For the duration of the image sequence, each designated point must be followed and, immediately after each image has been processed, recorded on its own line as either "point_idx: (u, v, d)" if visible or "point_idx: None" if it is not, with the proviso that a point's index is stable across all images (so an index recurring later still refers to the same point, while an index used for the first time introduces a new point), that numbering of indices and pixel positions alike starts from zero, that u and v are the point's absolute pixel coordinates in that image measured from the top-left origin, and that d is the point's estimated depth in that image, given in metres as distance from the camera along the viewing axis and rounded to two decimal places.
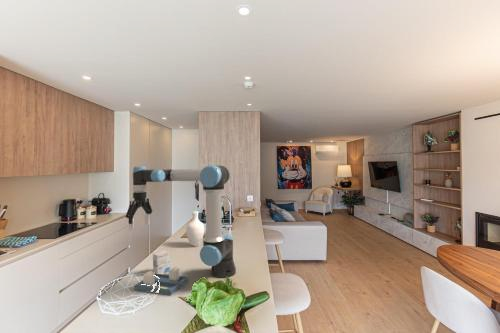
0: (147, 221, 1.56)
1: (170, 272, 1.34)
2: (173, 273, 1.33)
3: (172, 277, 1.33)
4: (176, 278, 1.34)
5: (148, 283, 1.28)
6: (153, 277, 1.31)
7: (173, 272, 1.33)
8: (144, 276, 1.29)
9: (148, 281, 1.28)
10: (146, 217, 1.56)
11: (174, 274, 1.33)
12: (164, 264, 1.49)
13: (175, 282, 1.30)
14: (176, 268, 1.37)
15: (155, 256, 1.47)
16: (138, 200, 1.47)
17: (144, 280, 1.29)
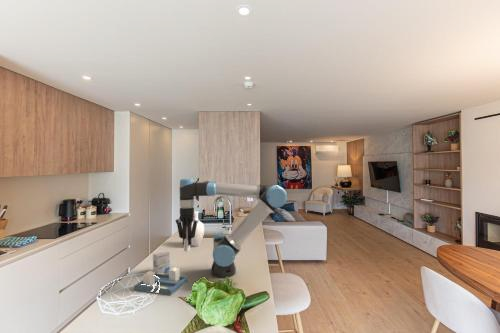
0: None
1: (170, 272, 1.34)
2: (173, 273, 1.33)
3: (172, 277, 1.33)
4: (176, 278, 1.34)
5: (148, 283, 1.28)
6: (153, 277, 1.31)
7: (173, 272, 1.33)
8: (144, 276, 1.29)
9: (148, 281, 1.28)
10: None
11: (174, 274, 1.33)
12: (164, 264, 1.49)
13: (175, 282, 1.30)
14: (176, 268, 1.37)
15: (155, 256, 1.47)
16: (181, 216, 1.33)
17: (144, 280, 1.29)
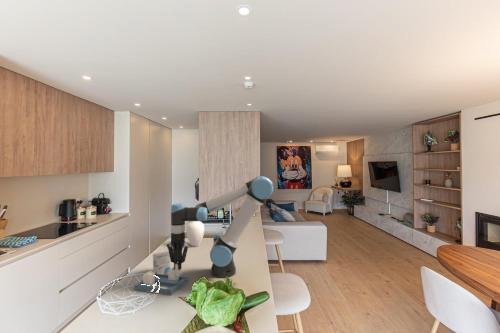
0: None
1: (169, 272, 1.34)
2: (172, 273, 1.33)
3: (171, 277, 1.34)
4: (175, 278, 1.34)
5: (148, 283, 1.28)
6: (153, 277, 1.31)
7: (172, 272, 1.33)
8: (144, 276, 1.29)
9: (148, 281, 1.28)
10: None
11: (173, 274, 1.33)
12: (164, 264, 1.49)
13: (175, 282, 1.30)
14: None
15: (155, 256, 1.47)
16: (171, 240, 1.35)
17: (144, 280, 1.29)
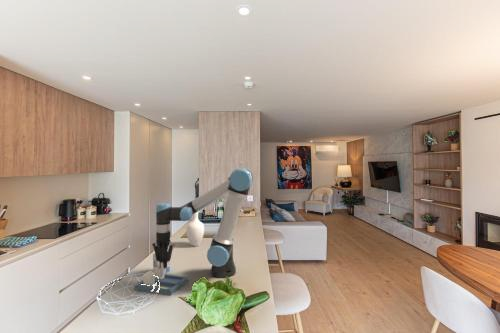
0: None
1: (155, 270, 1.36)
2: (157, 271, 1.36)
3: (157, 275, 1.36)
4: (161, 276, 1.37)
5: (148, 283, 1.28)
6: (153, 277, 1.31)
7: (158, 270, 1.36)
8: (144, 276, 1.29)
9: (148, 281, 1.28)
10: None
11: (159, 272, 1.36)
12: None
13: (175, 282, 1.30)
14: None
15: (155, 256, 1.47)
16: (157, 239, 1.37)
17: (144, 280, 1.29)
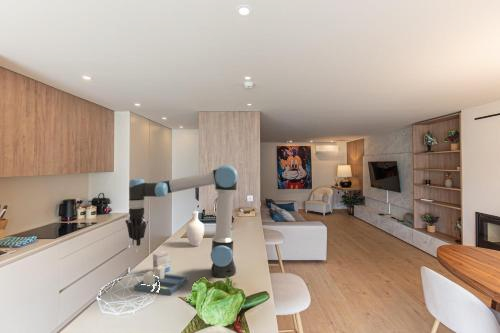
0: None
1: (155, 270, 1.36)
2: (157, 271, 1.36)
3: (157, 275, 1.36)
4: (161, 276, 1.37)
5: (148, 283, 1.28)
6: (153, 277, 1.31)
7: (158, 270, 1.36)
8: (144, 276, 1.29)
9: (148, 281, 1.28)
10: None
11: (159, 272, 1.36)
12: (164, 264, 1.49)
13: (175, 282, 1.30)
14: (161, 266, 1.39)
15: (155, 256, 1.47)
16: (130, 216, 1.33)
17: (144, 280, 1.29)
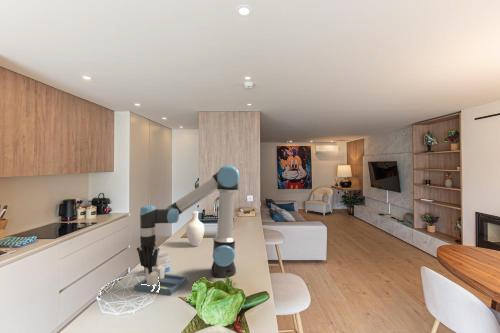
0: None
1: (155, 270, 1.36)
2: (157, 271, 1.36)
3: None
4: (161, 276, 1.37)
5: (152, 283, 1.28)
6: (157, 277, 1.30)
7: (158, 270, 1.36)
8: (147, 276, 1.28)
9: (151, 282, 1.28)
10: None
11: (159, 272, 1.36)
12: (164, 264, 1.49)
13: (175, 282, 1.30)
14: (161, 266, 1.39)
15: None
16: (141, 244, 1.31)
17: (147, 280, 1.28)
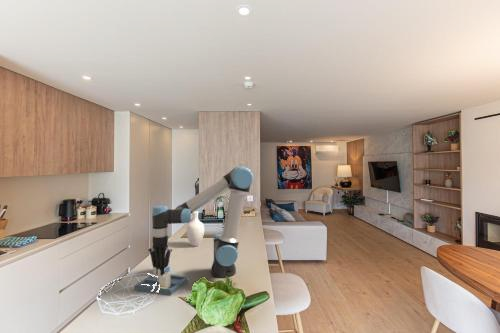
0: None
1: (155, 270, 1.36)
2: None
3: (157, 275, 1.36)
4: None
5: (164, 285, 1.26)
6: (169, 279, 1.28)
7: None
8: (160, 278, 1.26)
9: (164, 284, 1.26)
10: None
11: None
12: None
13: (175, 282, 1.30)
14: None
15: None
16: (154, 244, 1.29)
17: (160, 282, 1.26)
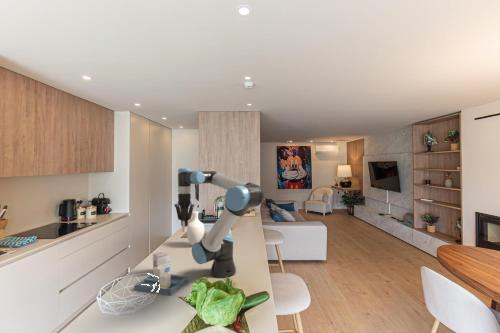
0: None
1: (155, 270, 1.36)
2: (157, 271, 1.36)
3: (157, 275, 1.36)
4: None
5: (164, 285, 1.25)
6: (169, 279, 1.28)
7: (158, 270, 1.36)
8: (160, 278, 1.26)
9: (164, 284, 1.26)
10: None
11: (159, 272, 1.36)
12: (164, 264, 1.49)
13: (175, 282, 1.30)
14: (161, 266, 1.39)
15: (155, 256, 1.47)
16: (179, 200, 1.52)
17: (160, 282, 1.26)
